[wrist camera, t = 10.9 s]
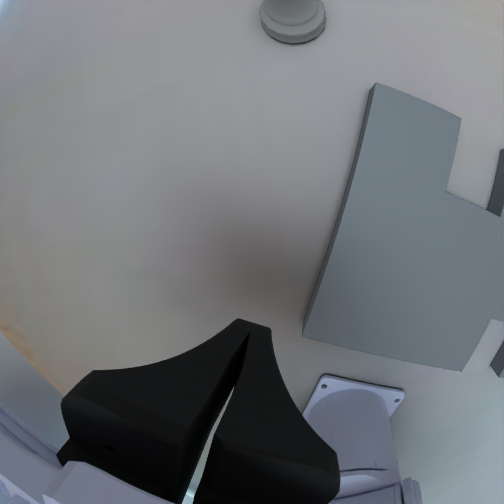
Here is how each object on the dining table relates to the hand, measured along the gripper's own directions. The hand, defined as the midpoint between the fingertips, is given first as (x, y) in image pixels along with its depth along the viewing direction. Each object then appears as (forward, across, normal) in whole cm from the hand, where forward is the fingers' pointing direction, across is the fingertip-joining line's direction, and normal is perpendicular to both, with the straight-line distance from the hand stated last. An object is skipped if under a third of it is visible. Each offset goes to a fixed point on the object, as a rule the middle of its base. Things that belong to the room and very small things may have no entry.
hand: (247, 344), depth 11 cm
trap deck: (+10, -16, -4) cm, 20 cm away
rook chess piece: (+11, +3, -17) cm, 20 cm away
